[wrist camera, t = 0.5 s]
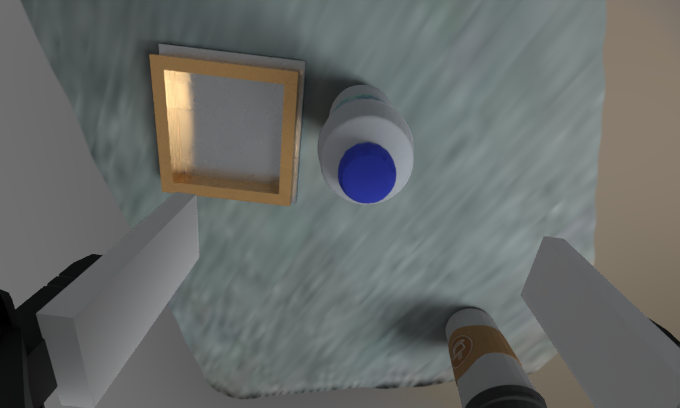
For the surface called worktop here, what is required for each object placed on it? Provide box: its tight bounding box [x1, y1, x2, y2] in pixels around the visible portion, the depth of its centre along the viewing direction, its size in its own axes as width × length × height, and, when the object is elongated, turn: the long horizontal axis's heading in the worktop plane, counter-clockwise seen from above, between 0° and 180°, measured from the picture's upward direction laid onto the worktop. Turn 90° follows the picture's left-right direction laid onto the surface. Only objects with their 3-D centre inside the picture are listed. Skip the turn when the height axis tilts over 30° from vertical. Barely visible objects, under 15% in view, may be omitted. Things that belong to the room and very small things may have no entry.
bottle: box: [318, 85, 414, 205], centre depth 29 cm, size 7×7×20 cm
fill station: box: [149, 44, 307, 206], centre depth 38 cm, size 15×14×4 cm
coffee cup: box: [445, 308, 547, 408], centre depth 43 cm, size 8×8×15 cm
